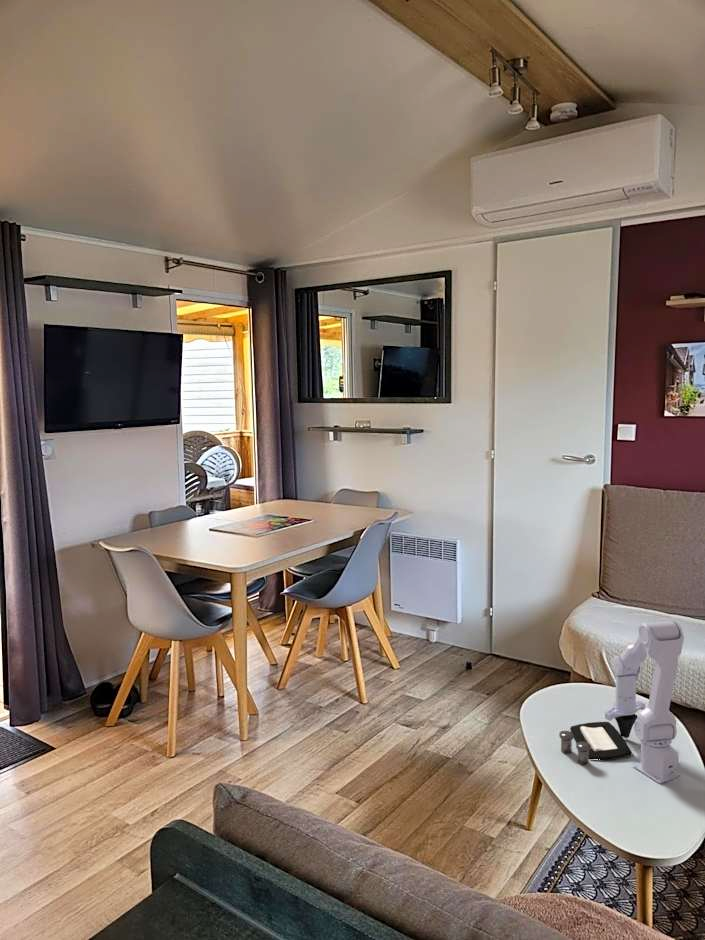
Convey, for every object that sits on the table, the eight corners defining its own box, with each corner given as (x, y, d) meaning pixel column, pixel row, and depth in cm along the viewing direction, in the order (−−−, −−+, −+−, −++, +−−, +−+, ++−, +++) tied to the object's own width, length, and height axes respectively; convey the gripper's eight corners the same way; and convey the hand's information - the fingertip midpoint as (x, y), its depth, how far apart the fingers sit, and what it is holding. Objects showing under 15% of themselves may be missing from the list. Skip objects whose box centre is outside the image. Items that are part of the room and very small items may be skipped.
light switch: (566, 722, 225) (609, 716, 225) (567, 731, 225) (610, 725, 225) (587, 756, 205) (635, 750, 205) (588, 765, 206) (636, 759, 205)
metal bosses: (593, 764, 204) (593, 746, 203) (583, 767, 202) (583, 750, 202) (566, 746, 214) (566, 729, 213) (556, 749, 212) (556, 732, 211)
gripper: (632, 683, 221) (631, 724, 223) (597, 694, 215) (597, 736, 217) (651, 692, 215) (650, 734, 217) (615, 704, 209) (614, 747, 211)
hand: (624, 736), depth 216 cm, fingers closed
